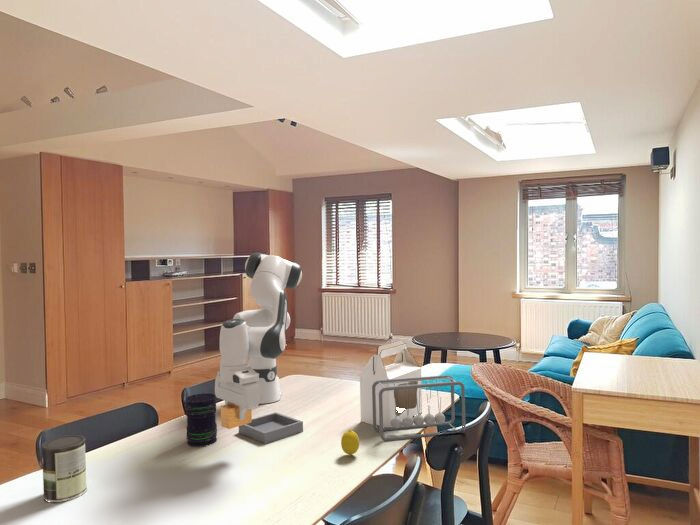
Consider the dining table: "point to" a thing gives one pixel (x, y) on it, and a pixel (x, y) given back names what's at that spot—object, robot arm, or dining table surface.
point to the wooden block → (233, 416)
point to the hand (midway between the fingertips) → (236, 417)
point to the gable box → (390, 384)
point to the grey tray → (271, 427)
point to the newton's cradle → (418, 418)
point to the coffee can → (64, 468)
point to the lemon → (350, 442)
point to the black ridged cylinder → (201, 420)
